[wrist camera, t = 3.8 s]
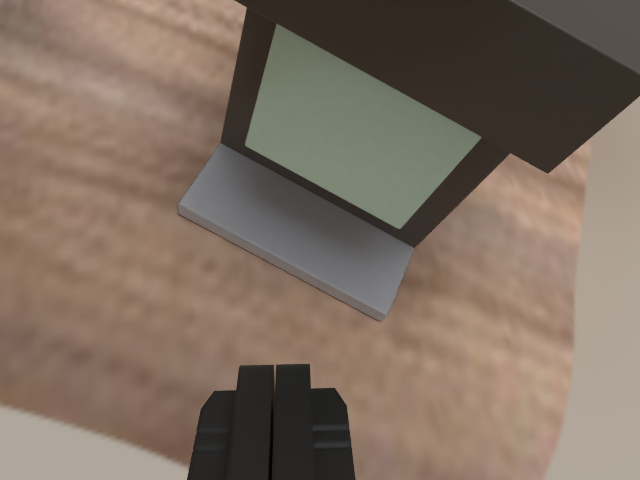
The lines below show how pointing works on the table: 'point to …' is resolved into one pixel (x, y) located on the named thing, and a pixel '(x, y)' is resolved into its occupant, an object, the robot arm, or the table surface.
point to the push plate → (351, 131)
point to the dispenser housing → (435, 93)
